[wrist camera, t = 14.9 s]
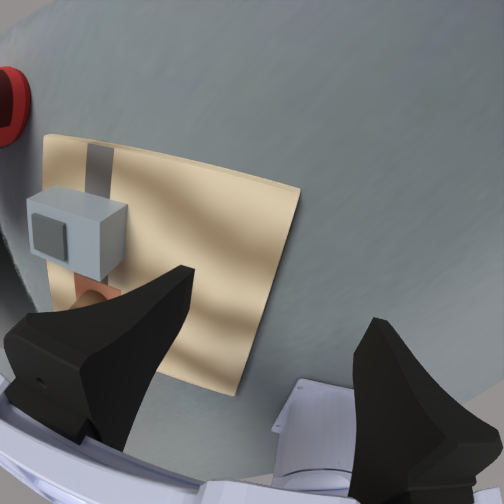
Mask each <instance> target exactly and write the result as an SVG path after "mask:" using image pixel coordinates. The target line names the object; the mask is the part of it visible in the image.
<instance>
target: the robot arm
mask: <svg viewBox="0 0 504 504" xmlns="http://www.w3.org/2000/svg"><path fill="white" fill-rule="evenodd" d="M194 275H195V269H194V268H191V267H187V266H184V265H179V266H177V267H175V268H173V269H172V270H170V271H168V272H166V273H165V274H163V275H161V276H159V277H158V278H156V279H154V280H152V281H150V282H148V283H146V284H145V285H142V286H140V287H138V288H136V289H134V290H132V291H130V292H128V293H125V294H123V295H120V296H118V297H115V298H112V299H109V300H106V301H103V302H100V303H96V304H92V305H88V306H85V307H80V308H75V309H70V310H63V311H56V312H43V313H28V314H27V315H26V316H25V317H23V318H22V319H21V321H19V322H18V323H17V324H16V325H15V326H14V327H13V328H12V329H11V330H10V331H9V332H8V333H7V334H6V336H5V338H4V349H5V352H6V355H7V358H8V360H9V363H10V365H11V367H12V370H13V372H14V374H15V376H16V378H15V379H14V381H13V382H12V383H10V382H9V381H8V379H7V378H6V377H4V376H3V375H2V374H1V373H0V466H2V467H3V468H4V469H5V470H7V471H8V472H9V473H11V474H12V475H13V476H15V477H16V478H18V479H19V480H20V481H22V482H23V483H24V484H26V485H27V486H29V487H30V488H31V489H33V490H34V491H35V492H37V493H38V494H40V495H41V496H43V497H44V498H46V499H47V500H49V501H51V502H52V503H54V504H502V500H501V495H500V490H499V487H493V488H488V489H483V490H479V491H476V492H474V493H473V490H472V486H474V485H475V484H476V477H475V476H476V475H477V474H479V473H480V472H481V471H483V470H484V469H485V468H486V467H488V466H489V465H490V464H491V463H493V462H494V461H495V460H496V459H497V458H498V456H499V455H500V454H501V452H502V449H503V446H502V442H501V439H500V435H499V432H498V430H497V429H495V428H494V427H492V426H490V425H489V424H487V423H485V422H484V421H482V420H480V419H479V418H477V417H476V416H475V415H473V414H472V413H470V412H469V411H468V410H466V409H465V408H464V407H463V406H461V405H460V404H459V403H458V402H457V401H455V400H454V399H453V398H452V397H451V396H450V395H449V394H448V393H446V392H445V391H444V390H443V389H442V388H441V387H440V386H439V384H438V383H437V382H436V381H435V380H434V379H433V378H432V377H431V376H430V375H429V374H428V372H427V371H426V370H425V369H424V368H423V366H422V365H421V364H420V363H419V361H418V360H417V359H416V358H415V356H414V355H413V354H412V352H411V351H410V350H409V348H408V347H407V346H406V344H405V343H404V342H403V340H402V339H401V337H400V336H399V335H398V333H397V332H396V331H395V329H394V328H393V327H392V326H391V324H390V323H389V322H388V321H387V320H383V319H379V318H375V317H373V319H372V321H371V323H370V325H369V327H368V329H367V331H366V332H365V334H364V336H363V338H362V340H361V342H360V343H359V345H358V347H357V349H356V351H355V352H354V357H353V386H354V389H349V388H344V387H339V386H334V385H330V384H325V383H320V382H316V381H312V380H307V379H299V380H298V381H297V382H296V384H295V386H294V388H293V390H292V392H291V393H290V395H289V397H288V399H287V401H286V403H285V404H284V406H283V408H282V410H281V412H280V413H279V415H278V417H277V419H276V420H275V422H274V424H273V426H272V428H271V430H272V431H273V432H275V433H280V434H279V441H278V447H277V454H276V460H275V467H274V473H273V480H272V486H267V485H262V484H257V483H252V482H247V481H240V480H233V479H213V480H210V481H207V482H204V481H201V480H197V479H194V478H191V477H187V476H184V475H181V474H178V473H175V472H172V471H169V470H166V469H163V468H161V467H158V466H155V465H152V464H150V463H147V462H144V461H142V460H139V459H137V458H134V457H132V456H130V455H127V454H125V453H122V452H123V450H124V447H125V444H126V441H127V438H128V435H129V433H130V430H131V428H132V425H133V422H134V420H135V417H136V415H137V412H138V410H139V407H140V405H141V403H142V400H143V398H144V396H145V393H146V391H147V389H148V387H149V384H150V382H151V380H152V378H153V376H154V374H155V372H156V370H157V369H158V367H159V365H160V364H161V362H162V360H163V359H164V357H165V355H166V354H167V352H168V350H169V349H170V347H171V346H172V344H173V342H174V341H175V339H176V337H177V336H178V334H179V332H180V331H181V328H182V326H183V324H184V322H185V319H186V317H187V315H188V312H189V310H190V303H191V296H192V289H193V282H194ZM299 386H301V387H299Z"/></svg>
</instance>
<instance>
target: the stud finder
mask: <svg viewBox="0 0 504 504" xmlns="http://www.w3.org/2000/svg"><path fill="white" fill-rule="evenodd" d="M127 206H128V204H125V203H122V202H118V201H115V200H111V199H107V198H104V197H100V196H96V195H93V194H89V193H85V192H82V191H78V190H74V189H71V188H67V187H63V186H60V185H55V186H53V187H51V188H48V189H46V190H44V191H42V192H40V193H38V194H36V195H34V196H32V197H30V198H28V199H27V217H28V230H29V241H30V250H31V253H32V254H34V255H36V256H39V257H41V258H43V259H46V260H48V261H50V262H53V263H55V264H57V265H60V266H62V267H64V268H67V269H69V270H72V271H74V272H77V273H79V274H82V275H84V276H87V277H89V278H92V279H94V280H97V281H99V282H101V281H102V280H103V279H104V278H105V277H106V276H107V275H108V274H109V273H110V272H111V271H112V270H113V269H114V268H115V267H116V266H117V265H118V264H119V263H120V262H121V261H122V260H123V259H124V257H125V235H126V219H127Z"/></svg>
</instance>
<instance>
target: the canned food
mask: <svg viewBox="0 0 504 504" xmlns="http://www.w3.org/2000/svg"><path fill="white" fill-rule="evenodd" d="M29 108H30V90H29V85H28V82H27V79H26V77H25V76H24V74H23V73H22V72H21V71H19V70H17V69H15V68H12V67H0V149H1V148H4V147H7V146H8V145H9V144H11V143H12V142H13V141H15V140H16V139H17V138H18V137H19V136H20V134H21V133H22V131H23V129H24V127H25V124H26V122H27V118H28V114H29Z"/></svg>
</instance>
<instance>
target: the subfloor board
mask: <svg viewBox="0 0 504 504" xmlns="http://www.w3.org/2000/svg"><path fill="white" fill-rule="evenodd" d="M55 185H60V186H63V187H67V188H71V189H74V190H78V191H82V192H85V193H89V194H93V195H96V196H100V197H104V198H107V199H111V200H115V201H118V202H122V203H125V204H128V206H127V219H126V235H125V257H124V259H123V260H122V261H121V262H120V263H119V264H118V265H117V266H116V267H115V268H114V269H113V270H112V271H111V272H110V273H109V274H108V275H107V276H106V277H105V278H104V279H103V280H102V281H101V282H99V281H97V280H94V279H92V278H89V277H87V276H84V275H82V274H79V273H77V272H74V271H72V270H69V269H67V268H64V267H62V266H60V265H57V264H55V263H53V262H50V261H48V260H47V268H48V276H49V284H50V291H51V297H52V303H53V309H54V312H56V311H63V310H68V309H69V308H70V307H71V306H72V305H73V304H74V303H75V302H76V301H77V300H78V299H79V298H80V297H81V296H82V294H83V293H84V292H85V291H87V290H95V291H98V292H99V293H101V294H102V295H103V296H104V297H105V298H106V299H107V300H109V299H112V298H115V297H118V296H120V295H123V294H125V293H128V292H130V291H132V290H134V289H136V288H138V287H140V286H142V285H145V284H146V283H148V282H150V281H152V280H154V279H156V278H158V277H159V276H161V275H163V274H165V273H166V272H168V271H170V270H172V269H173V268H175V267H177V266H179V265H184V266H187V267H191V268H194V269H195V275H194V282H193V289H192V296H191V303H190V310H189V312H188V315H187V317H186V319H185V322H184V324H183V326H182V328H181V331H180V332H179V334H178V336H177V337H176V339H175V341H174V342H173V344H172V346H171V347H170V349H169V350H168V352H167V354H166V355H165V357H164V359H163V360H162V362H161V364H160V365H159V367H158V369H157V370H156V371H158V372H160V373H163V374H166V375H169V376H171V377H174V378H177V379H180V380H183V381H186V382H189V383H192V384H195V385H198V386H201V387H204V388H207V389H210V390H214V391H217V392H220V393H224V394H227V395H230V396H235V393H236V390H237V387H238V384H239V381H240V379H241V376H242V373H243V370H244V367H245V364H246V361H247V358H248V355H249V352H250V349H251V346H252V343H253V340H254V337H255V334H256V331H257V328H258V325H259V322H260V319H261V316H262V313H263V310H264V307H265V304H266V301H267V298H268V295H269V292H270V288H271V285H272V282H273V279H274V276H275V273H276V270H277V267H278V263H279V260H280V257H281V254H282V251H283V248H284V244H285V241H286V238H287V235H288V231H289V228H290V225H291V222H292V218H293V215H294V212H295V209H296V205H297V202H298V199H299V195H300V189H299V188H296V187H292V186H289V185H285V184H282V183H278V182H275V181H271V180H268V179H264V178H261V177H257V176H253V175H249V174H246V173H242V172H238V171H234V170H230V169H226V168H222V167H218V166H214V165H210V164H206V163H202V162H198V161H194V160H189V159H185V158H181V157H176V156H172V155H167V154H163V153H158V152H153V151H149V150H144V149H139V148H134V147H129V146H124V145H119V144H113V143H108V142H103V141H97V140H91V139H85V138H79V137H73V136H67V135H61V134H54V133H53V134H49V135H45V136H44V142H43V170H42V191H44V190H46V189H48V188H51V187H53V186H55Z"/></svg>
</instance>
